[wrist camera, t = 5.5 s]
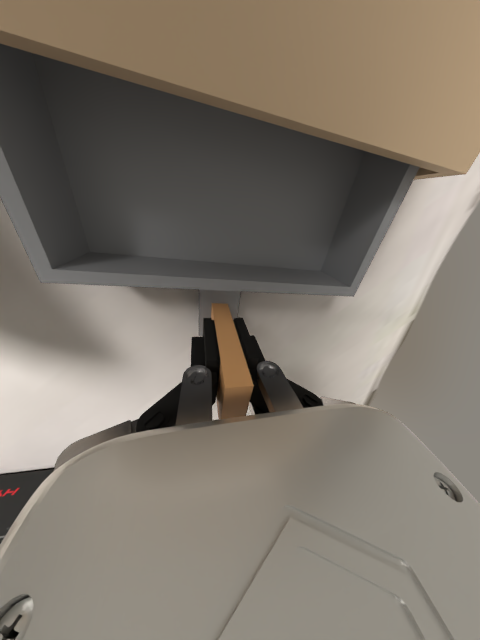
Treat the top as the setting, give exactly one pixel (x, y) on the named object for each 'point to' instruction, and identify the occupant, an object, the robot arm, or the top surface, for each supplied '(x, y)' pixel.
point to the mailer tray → (183, 197)
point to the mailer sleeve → (288, 64)
